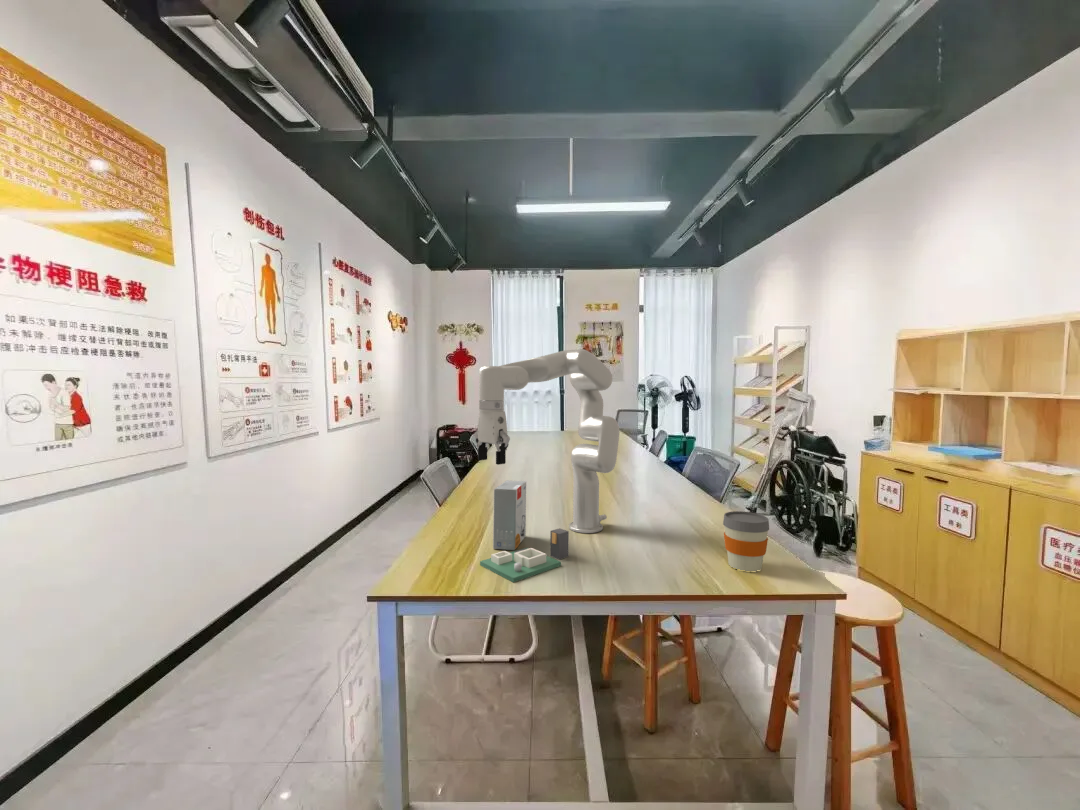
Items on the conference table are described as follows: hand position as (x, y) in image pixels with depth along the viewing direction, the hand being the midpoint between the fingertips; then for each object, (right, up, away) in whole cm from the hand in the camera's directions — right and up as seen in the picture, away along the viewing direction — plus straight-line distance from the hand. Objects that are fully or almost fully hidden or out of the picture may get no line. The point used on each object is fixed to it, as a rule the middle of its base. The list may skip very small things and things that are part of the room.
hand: (491, 461), depth 145 cm
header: (+12, -29, -5) cm, 32 cm away
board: (+9, -30, -5) cm, 32 cm away
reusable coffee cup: (+76, -31, -5) cm, 82 cm away
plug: (+21, -30, +3) cm, 37 cm away
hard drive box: (+5, -30, +15) cm, 34 cm away
